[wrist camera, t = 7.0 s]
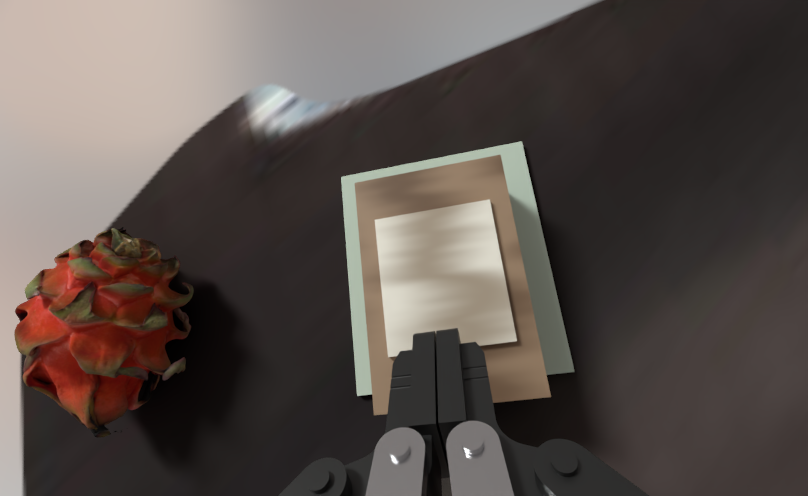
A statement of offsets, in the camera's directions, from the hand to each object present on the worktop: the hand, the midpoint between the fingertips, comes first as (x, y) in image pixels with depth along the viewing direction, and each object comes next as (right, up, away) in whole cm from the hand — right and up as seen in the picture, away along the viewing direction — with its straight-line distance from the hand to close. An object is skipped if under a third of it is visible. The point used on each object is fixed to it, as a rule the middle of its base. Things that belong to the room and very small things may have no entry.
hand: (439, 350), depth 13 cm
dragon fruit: (-18, -2, +14) cm, 22 cm away
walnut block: (+2, -4, +6) cm, 8 cm away
